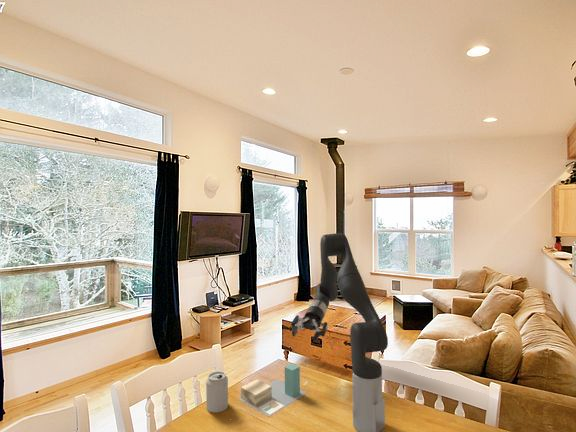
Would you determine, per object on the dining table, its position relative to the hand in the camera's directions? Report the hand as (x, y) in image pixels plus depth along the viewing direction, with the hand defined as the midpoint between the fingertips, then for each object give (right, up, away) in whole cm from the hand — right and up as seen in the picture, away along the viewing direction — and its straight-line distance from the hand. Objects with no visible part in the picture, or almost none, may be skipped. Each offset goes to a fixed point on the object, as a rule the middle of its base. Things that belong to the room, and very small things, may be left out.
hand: (303, 337), depth 132 cm
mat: (-11, -20, -7) cm, 24 cm away
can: (-31, -21, -13) cm, 39 cm away
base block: (-18, -19, -8) cm, 27 cm away
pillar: (-4, -19, -5) cm, 20 cm away
